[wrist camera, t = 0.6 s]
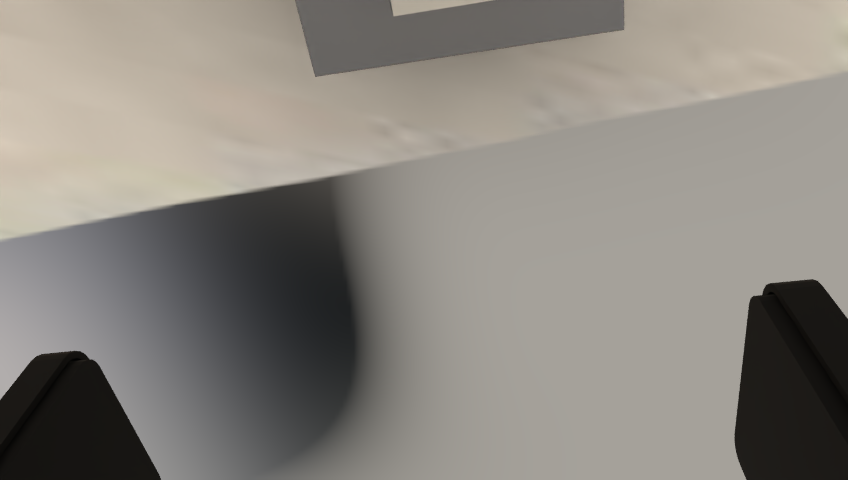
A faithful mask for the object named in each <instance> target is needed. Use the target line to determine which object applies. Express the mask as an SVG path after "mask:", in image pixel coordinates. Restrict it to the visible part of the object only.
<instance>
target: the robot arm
mask: <svg viewBox="0 0 848 480" xmlns="http://www.w3.org/2000/svg"><path fill="white" fill-rule="evenodd" d="M735 448H736V453H737V457H738V460H739V462H740V465H741V467H742V470H743V472H744V475H745V477H746V479H747V480H848V319H847V317H846V316H845V315H844V314H843V312H842V311H841V310H840V308H839V307H838V306H837V304H836V303H835V302H834V300H833V299H832V298H831V297H830V295H829V294H828V293H827V291H826V290H825V289H824V287H823V286H822V285H821V284H820V283H819V282H818V281H816V280H813V279H812V280H800V281H791V282H780V283H770V284H768V285H766V287H765V288H764V291H763V295H760V296H753V297H752V298H751V300H750V303H749V310H748V319H747V328H746V337H745V346H744V355H743V364H742V373H741V382H740V391H739V401H738V409H737V418H736V427H735ZM0 480H161V478H160V476H159V474H158V472H157V470H156V468H155V466H154V464H153V463H152V461H151V459H150V457H149V455H148V454H147V452H146V450H145V448H144V446H143V444H142V443H141V441H140V439H139V437H138V436H137V434H136V432H135V430H134V428H133V426H132V425H131V423H130V421H129V419H128V417H127V415H126V414H125V412H124V410H123V408H122V406H121V404H120V403H119V401H118V399H117V397H116V396H115V394H114V392H113V390H112V388H111V386H110V384H109V383H108V381H107V379H106V378H105V375H104V374H103V372H102V370H101V368H100V366H99V365H98V364H97V363H96V362H95V361H94V360H89V358H88V357H87V356H86V355H85V354H84V353H82V352H80V351H70V352H59V353H50V354H41V355H39V356H36V357H35V358H34V359H33V360H32V361H31V362H30V363H29V364H28V366H27V367H26V368H25V370H24V371H23V372H22V373H21V374H20V376H19V377H18V378H17V380H16V381H15V382H14V383H13V385H12V386H11V387H10V389H9V390H8V391H7V392H6V393H5V395H4V396H3V397H2V399H1V400H0Z"/></svg>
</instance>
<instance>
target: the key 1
mask: <svg viewBox="0 0 848 480" xmlns="http://www.w3.org/2000/svg"><path fill="white" fill-rule="evenodd" d="M486 1H492V0H391V6H392V11H393V16H399V15H406V14H412V13H418V12H424V11H430V10H436V9H443V8H449V7H455V6H461V5H467V4H474V3H480V2H486Z"/></svg>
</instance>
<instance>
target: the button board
mask: <svg viewBox="0 0 848 480" xmlns="http://www.w3.org/2000/svg"><path fill="white" fill-rule="evenodd" d="M295 1H296V5H297V9H298V13H299V17H300V20H301V24H302V28H303V32H304V36H305V39H306V43H307V47H308V51H309V55H310V59H311V62H312V66H313V70H314V74H315V77H317V76H323V75H330V74H336V73H343V72H350V71H356V70H363V69H369V68H376V67H382V66H389V65H396V64H402V63H409V62H415V61H422V60H428V59H435V58H442V57H448V56H455V55H461V54H468V53H474V52H481V51H488V50H494V49H501V48H507V47H514V46H521V45H527V44H534V43H540V42H547V41H553V40H560V39H567V38H573V37H580V36H586V35H593V34H599V33H606V32H613V31H619V30H624V0H492V1H486V2H480V3H474V4H467V5H461V6H455V7H449V8H443V9H436V10H430V11H424V12H418V13H412V14H406V15H399V16H393V11H392V6H391V0H295Z"/></svg>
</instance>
